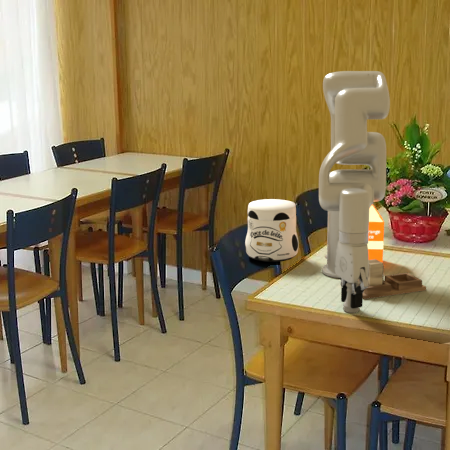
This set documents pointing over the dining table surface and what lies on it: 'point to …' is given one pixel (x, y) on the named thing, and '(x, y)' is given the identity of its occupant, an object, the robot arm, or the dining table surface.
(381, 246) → the orange juice
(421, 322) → the dining table surface
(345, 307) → the rook chess piece
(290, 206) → the milk container
